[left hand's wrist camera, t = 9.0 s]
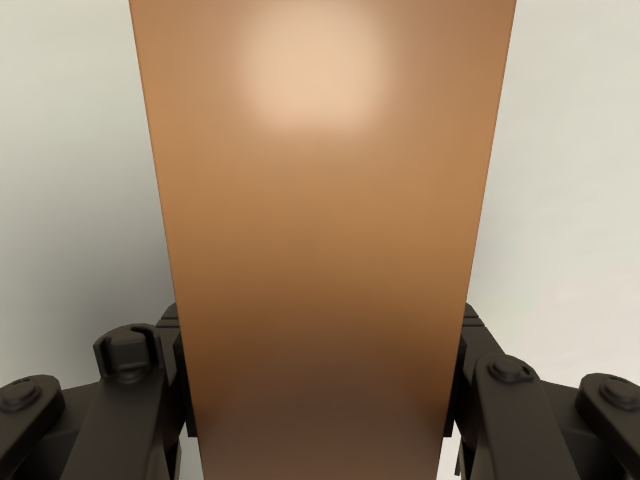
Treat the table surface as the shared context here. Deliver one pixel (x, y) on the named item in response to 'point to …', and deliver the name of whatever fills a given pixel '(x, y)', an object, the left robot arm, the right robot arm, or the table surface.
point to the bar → (321, 219)
